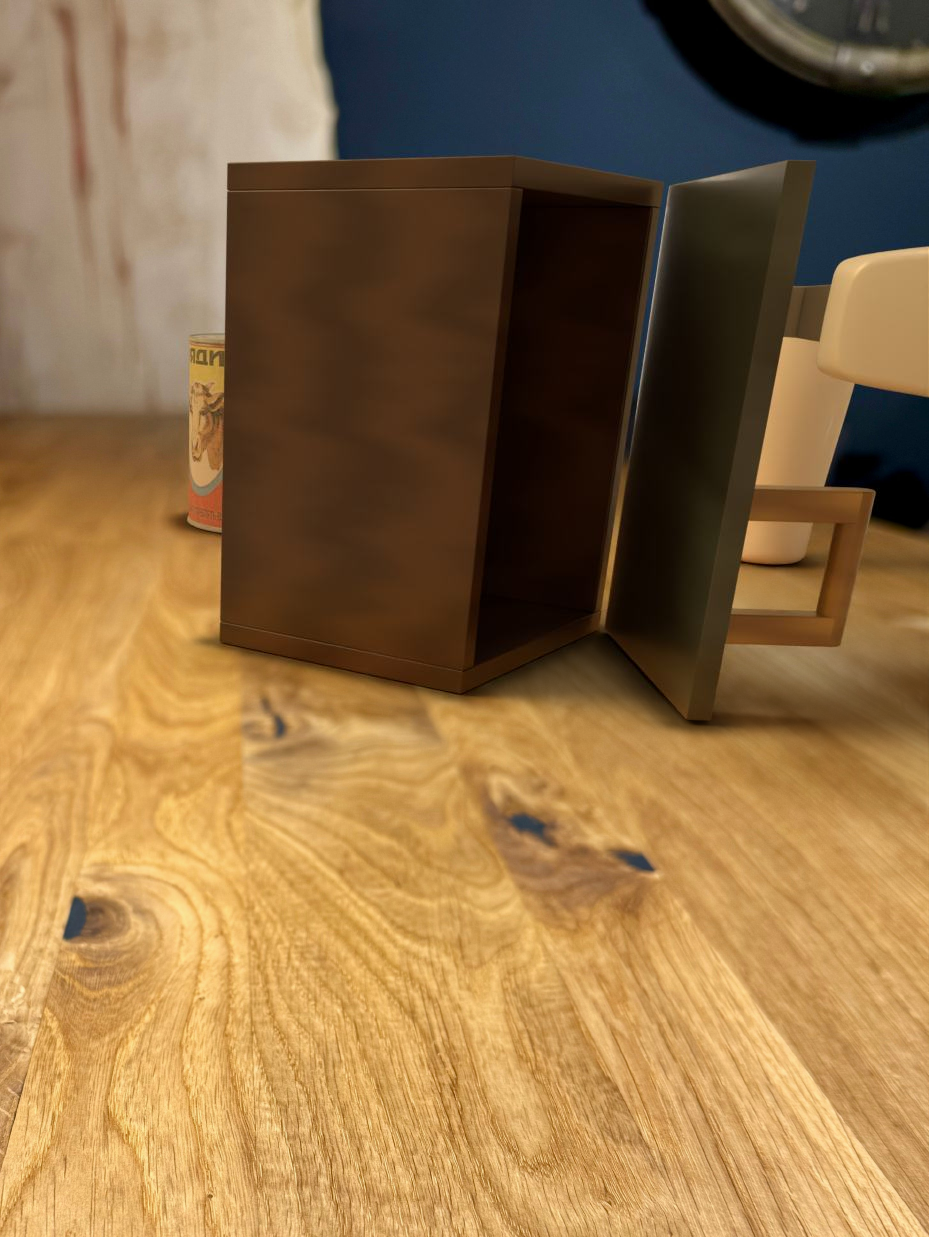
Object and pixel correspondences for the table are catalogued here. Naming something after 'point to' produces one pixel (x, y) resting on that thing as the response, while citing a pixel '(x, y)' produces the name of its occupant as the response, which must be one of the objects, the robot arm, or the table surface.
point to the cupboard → (426, 407)
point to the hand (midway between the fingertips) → (765, 310)
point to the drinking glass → (796, 445)
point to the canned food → (206, 430)
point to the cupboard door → (719, 441)
